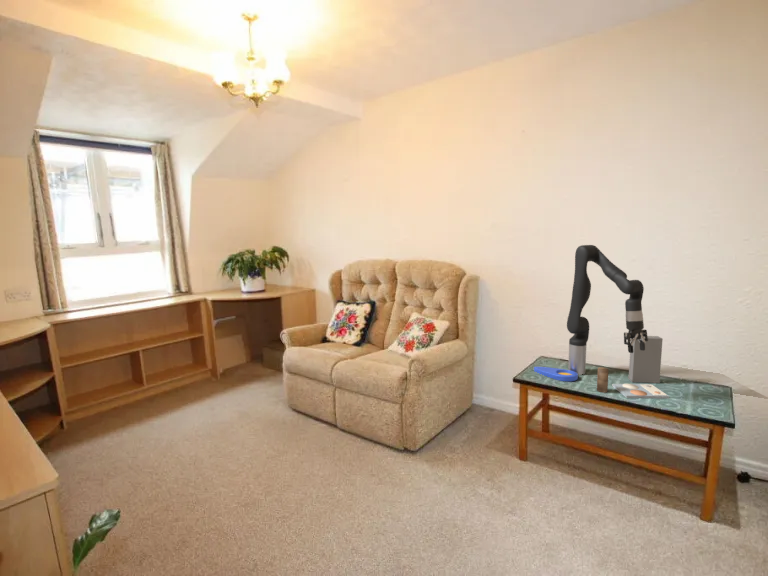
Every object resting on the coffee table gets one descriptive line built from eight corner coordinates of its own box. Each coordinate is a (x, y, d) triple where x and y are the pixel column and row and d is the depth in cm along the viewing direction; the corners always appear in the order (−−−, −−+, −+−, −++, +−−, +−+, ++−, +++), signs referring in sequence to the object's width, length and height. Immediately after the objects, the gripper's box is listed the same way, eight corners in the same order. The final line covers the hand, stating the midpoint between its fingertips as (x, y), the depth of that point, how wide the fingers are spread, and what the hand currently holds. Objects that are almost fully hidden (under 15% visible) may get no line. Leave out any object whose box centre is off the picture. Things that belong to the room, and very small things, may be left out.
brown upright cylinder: (595, 388, 219) (596, 367, 217) (605, 389, 219) (606, 367, 217) (599, 392, 214) (600, 370, 213) (609, 392, 214) (610, 370, 212)
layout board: (612, 385, 223) (612, 383, 222) (651, 386, 221) (651, 383, 220) (626, 397, 207) (626, 394, 207) (668, 398, 205) (669, 395, 205)
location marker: (529, 374, 245) (572, 383, 227) (529, 368, 245) (572, 377, 227) (539, 368, 254) (581, 377, 236) (539, 363, 254) (581, 371, 236)
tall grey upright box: (654, 379, 230) (657, 335, 227) (659, 383, 224) (663, 338, 221) (627, 378, 233) (630, 335, 229) (632, 382, 227) (634, 338, 223)
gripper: (636, 317, 215) (639, 348, 215) (617, 320, 209) (620, 352, 209) (651, 318, 208) (653, 350, 208) (631, 321, 202) (634, 354, 202)
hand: (636, 351), depth 208 cm, fingers open, 8 cm apart
